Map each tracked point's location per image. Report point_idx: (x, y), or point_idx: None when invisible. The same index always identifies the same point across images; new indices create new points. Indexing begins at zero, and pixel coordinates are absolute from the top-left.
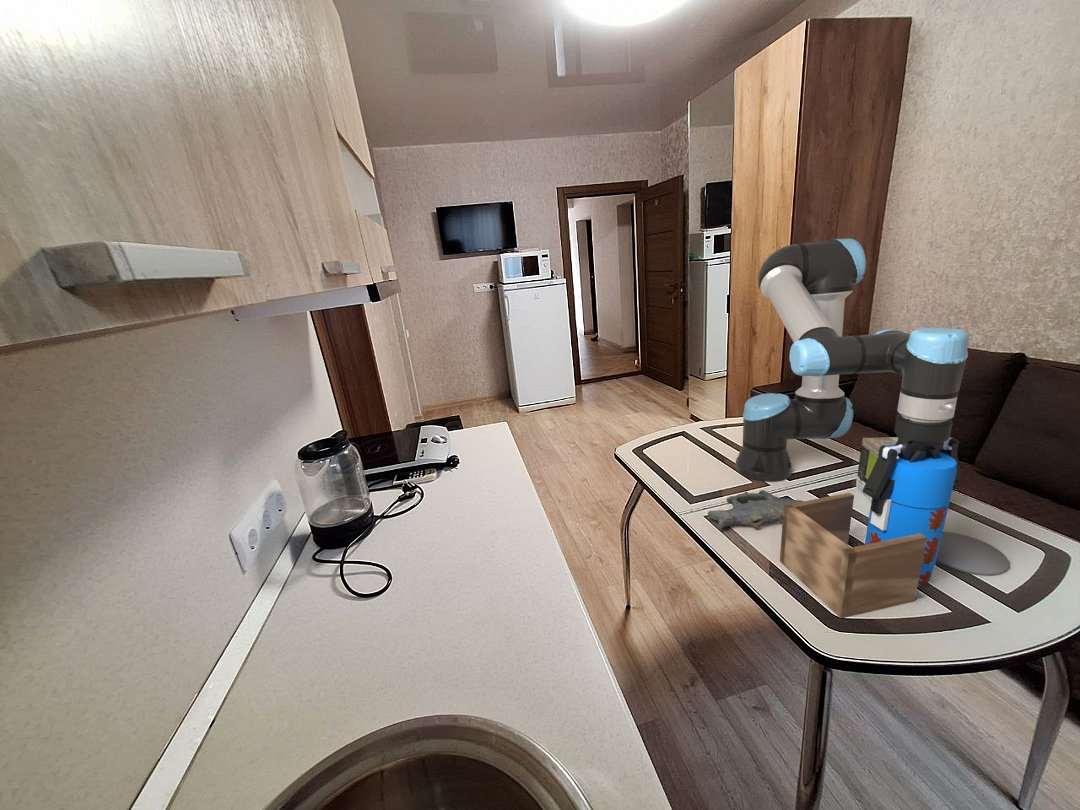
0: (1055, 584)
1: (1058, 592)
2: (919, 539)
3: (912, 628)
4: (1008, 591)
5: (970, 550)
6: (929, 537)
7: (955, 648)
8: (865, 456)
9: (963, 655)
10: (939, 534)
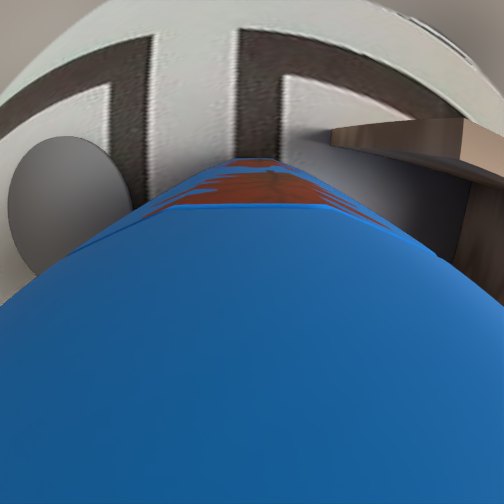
0: (18, 94)
1: (34, 74)
2: (495, 133)
3: (407, 87)
4: (99, 87)
5: (46, 212)
6: (294, 172)
7: (379, 24)
8: None
9: (381, 12)
10: (223, 169)
